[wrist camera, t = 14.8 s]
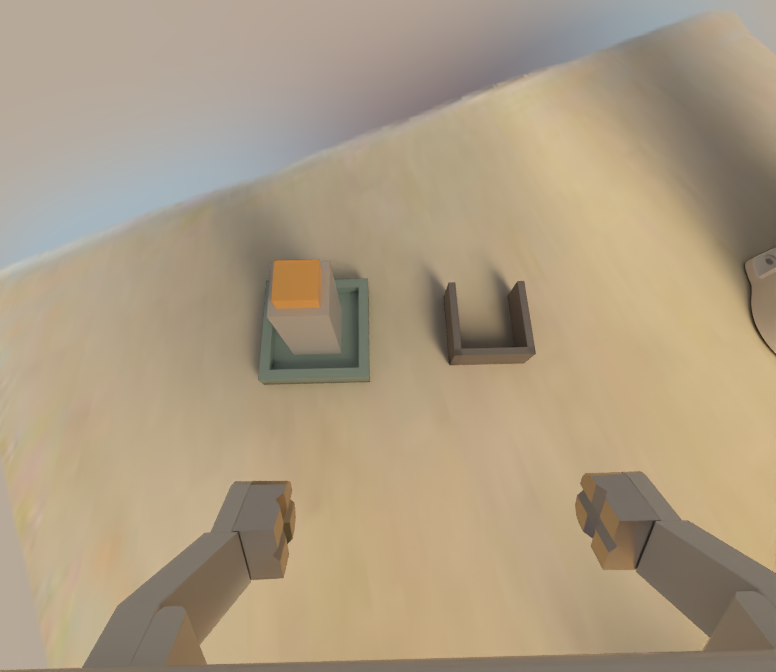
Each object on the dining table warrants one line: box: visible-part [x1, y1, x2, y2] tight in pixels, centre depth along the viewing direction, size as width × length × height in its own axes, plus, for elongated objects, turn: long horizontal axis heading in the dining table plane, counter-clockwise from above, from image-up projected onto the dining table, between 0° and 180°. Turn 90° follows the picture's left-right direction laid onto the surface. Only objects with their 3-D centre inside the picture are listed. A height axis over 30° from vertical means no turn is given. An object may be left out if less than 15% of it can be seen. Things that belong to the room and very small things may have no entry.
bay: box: [444, 281, 536, 365], centre depth 42 cm, size 8×8×4 cm
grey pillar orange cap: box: [267, 260, 342, 355], centre depth 37 cm, size 5×5×12 cm
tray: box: [258, 279, 370, 385], centre depth 43 cm, size 11×11×2 cm
